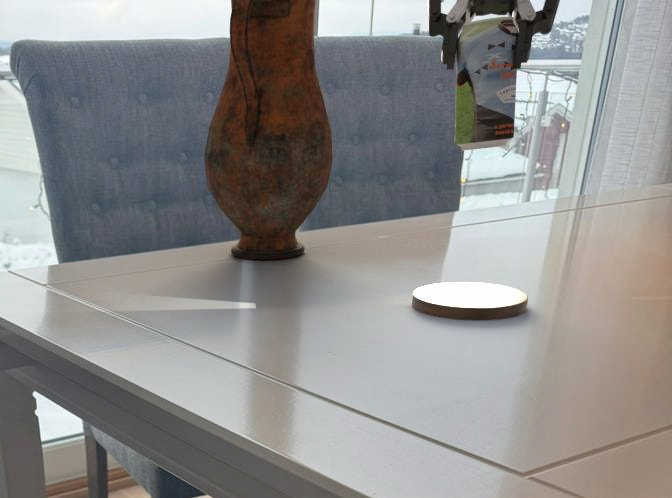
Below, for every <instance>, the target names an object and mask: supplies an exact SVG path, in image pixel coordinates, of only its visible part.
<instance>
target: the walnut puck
mask: <svg viewBox="0 0 672 498" xmlns="http://www.w3.org/2000/svg"><path fill="white" fill-rule="evenodd" d="M411 299H412V300H411V307H412V309H414V310H415V311H417V312H419V313H422V314H424V315H427V316H431V317H436V318H441V319H449V320H456V321H457V320H458V321H496V320H505V319H511V318H515V317H518V316H521V315H523V314H524V313H526V311H527V307H528V301H529V295H528V294H527V293H526V292H524V291H523V290H520V289H517V288H514V287H512V286H511V287H510V286H508V285H507V286H506V285H501V284H495V283H487V282H473V281H472V282H471V281H455V282H454V281H453V282H440V283H432V284H427V285H424V286H423V285H422V286H421V287H418V288H416V289H415V290H413V293H412V298H411Z"/></svg>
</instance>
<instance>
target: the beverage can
mask: <svg viewBox="0 0 672 498" xmlns="http://www.w3.org/2000/svg"><path fill="white" fill-rule="evenodd" d="M517 40H518V30H517V28H516V26H515V24H514V23H513V17H508V16H498V17H490V18H483V19H478V20H472V21H471V22H469V23H466V24H463V30H462V31H461V32H460V34H459V35H458V40H457V50H456V57H455V99H454V100H455V103H454V104H455V106H454V145H456V146H458V147H460V150H461V151H470V150H471V151H472V150H480V149H490V148H497V147H498V148H499V147H506V146H507V143H508V142H509V141H510V140H512V139H513V138H514V137H515V120H516V119H515V117H516V100H517V99H516V96H517V79H518V78H517V77H518V76H517V75H518V69H514V62H515V55H516V47H517Z"/></svg>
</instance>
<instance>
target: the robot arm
mask: <svg viewBox="0 0 672 498" xmlns="http://www.w3.org/2000/svg"><path fill="white" fill-rule="evenodd" d="M444 2H445V0H427V33H428V36H429V37H432V38H435V37H437V36H441V37H442V38H443V39H442V45H441V56H440V57H441V58H440V60H441V64H442V65H446V71H453V70H455V65H456V51H457V40H458V37H459V36H460V34H461V32H462V30H463V24H466V23H469V22H473V20H474V18H475V17H485V16H487V15H494V16H495V15H496V16H507V17H513V23H514V24H515V26H516V28H517V30H518V40H517V47H516V55H515V62H514V69H517V70H518V69H519V70H520V69H521V68H522V64H527V63H528V61H529V60H530V56H531V49H532V44H533V37H534V36H535V35H536V34H538V33H540V34H541V35H547V34H549V33H551V32H552V29H553V26H554V23H555V20H556V15H557V12H558V9H559V6H560V2H561V0H544V3H543V7H542V9H540V10H537V11H536V10H535V8H534V7H533V4H532V2H531V0H456V1H455V3H454V5H453V6H452V8H451V9H450V11H449V12H448V13H447V14H446V13H444V12H442V3H444Z"/></svg>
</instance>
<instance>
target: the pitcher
mask: <svg viewBox="0 0 672 498" xmlns="http://www.w3.org/2000/svg"><path fill="white" fill-rule="evenodd" d="M316 2H317V0H230V6H231V7H230V8H231V13H230V19H229V44H230V45H229V46H230V50H229V60H228V69H227V73H226V76H225V79H224V83H223V86H222V89H221V92H220V95H219V98H218V101H217V104H216V106H215V110H214V113H213V115H212V117H211V120H210V124H209V126H208V131H207V137H206V143H205V149H204V154H203V158H204V159H203V161H204V169H205V179H206V187H207V189H208V190H209V192H210V193H211V195H212V197H213V199H214V200H215V202H216V204H217V205H218V207H219V209H220V210H221V212H222V213H223V214H224V215H225V216H226V217H227V219H228V220H229V221H230V222H231V223H232V224H233V225H234V226H235V228H236V229H237V231H239V233H240V238H239V239H238V242H237V243H235V244H233V245H232V246H231V249H230V252H231V255H232V254H233V255H232V256H234V255H235V256H238V257H237V258H239V257H241V258H240V259H243V258H246V259H245V260H249V259H259V260H258V261H277V260H276V259H278V260H286V259H291V258H294V257H298V256H300V255H302V254H303V253H304V252H305V250H306V249H305V245H304V244H303V243H302V242H300V241H299V240H298V239H297V237H296V233H297V230H298V229H299V228H300V227H301V226H302V225H303V224H304V222H305V221H306V220H307V218H308V217H309V216H310V215H311V214H312V213H313V211H314V210H315V208H316V206H317V205H318V203H319V202H320V200H321V198H322V196H323V195H324V193H325V192H326V190H327V188H328V186H329V180H330V175H331V171H332V166H333V161H334V150H333V138H332V137H333V136H332V127H331V122H330V118H329V114H328V108H327V104H326V99H325V96H324V93H323V89H322V85H321V83H320V79H319V76H318V72H317V68H316V54H315V53H316V52H315V37H314V36H315V15H316V14H315V12H316ZM297 255H298V256H297ZM235 256H234V257H235ZM290 257H291V258H290ZM285 258H286V259H285Z"/></svg>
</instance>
